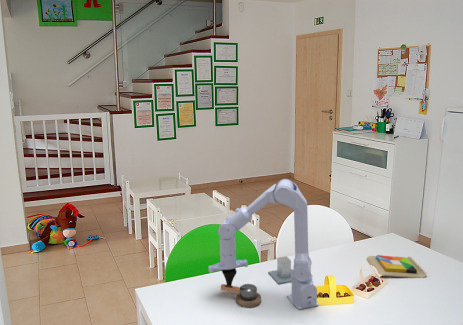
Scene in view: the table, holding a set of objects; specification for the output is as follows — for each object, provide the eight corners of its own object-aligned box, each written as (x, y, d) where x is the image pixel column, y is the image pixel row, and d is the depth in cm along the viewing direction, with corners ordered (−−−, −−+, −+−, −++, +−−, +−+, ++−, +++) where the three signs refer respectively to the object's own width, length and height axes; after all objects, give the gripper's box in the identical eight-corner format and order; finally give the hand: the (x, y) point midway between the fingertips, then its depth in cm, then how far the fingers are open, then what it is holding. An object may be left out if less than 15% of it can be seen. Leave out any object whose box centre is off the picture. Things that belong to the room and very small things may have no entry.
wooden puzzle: (427, 279, 163) (428, 270, 162) (379, 279, 163) (379, 271, 163) (409, 259, 180) (409, 252, 179) (365, 260, 181) (366, 252, 180)
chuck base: (265, 304, 146) (265, 301, 145) (241, 309, 143) (240, 305, 143) (255, 292, 154) (255, 288, 154) (232, 296, 151) (232, 293, 151)
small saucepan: (259, 293, 150) (259, 285, 149) (253, 302, 144) (253, 293, 144) (224, 287, 155) (224, 279, 154) (218, 294, 150) (218, 286, 149)
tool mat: (301, 280, 163) (301, 278, 163) (278, 284, 160) (278, 283, 160) (290, 269, 172) (290, 267, 172) (268, 273, 169) (268, 271, 169)
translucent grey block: (290, 276, 164) (291, 260, 163) (281, 278, 163) (281, 261, 162) (286, 272, 168) (286, 256, 167) (277, 274, 167) (277, 257, 165)
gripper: (243, 245, 157) (243, 278, 159) (205, 251, 152) (207, 285, 155) (249, 252, 150) (250, 287, 153) (211, 259, 146) (212, 294, 148)
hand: (228, 286), depth 153 cm, fingers closed
